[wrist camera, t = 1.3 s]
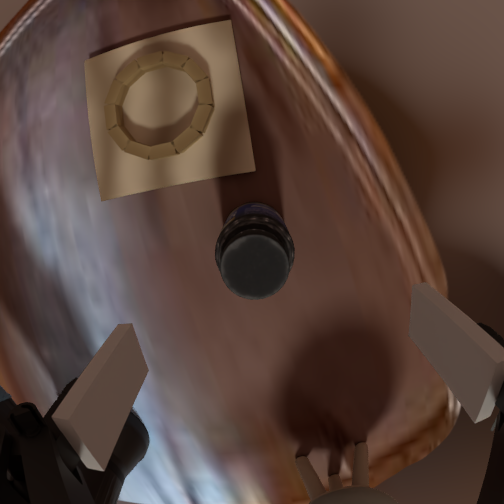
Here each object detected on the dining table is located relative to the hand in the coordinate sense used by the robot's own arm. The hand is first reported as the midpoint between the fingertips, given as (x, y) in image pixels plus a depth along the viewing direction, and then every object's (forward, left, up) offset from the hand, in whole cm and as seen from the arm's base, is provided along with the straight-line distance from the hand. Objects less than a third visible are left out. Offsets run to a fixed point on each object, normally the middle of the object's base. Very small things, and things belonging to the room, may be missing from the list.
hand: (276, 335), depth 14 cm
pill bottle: (-1, +1, -19) cm, 19 cm away
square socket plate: (-8, +15, -19) cm, 25 cm away
